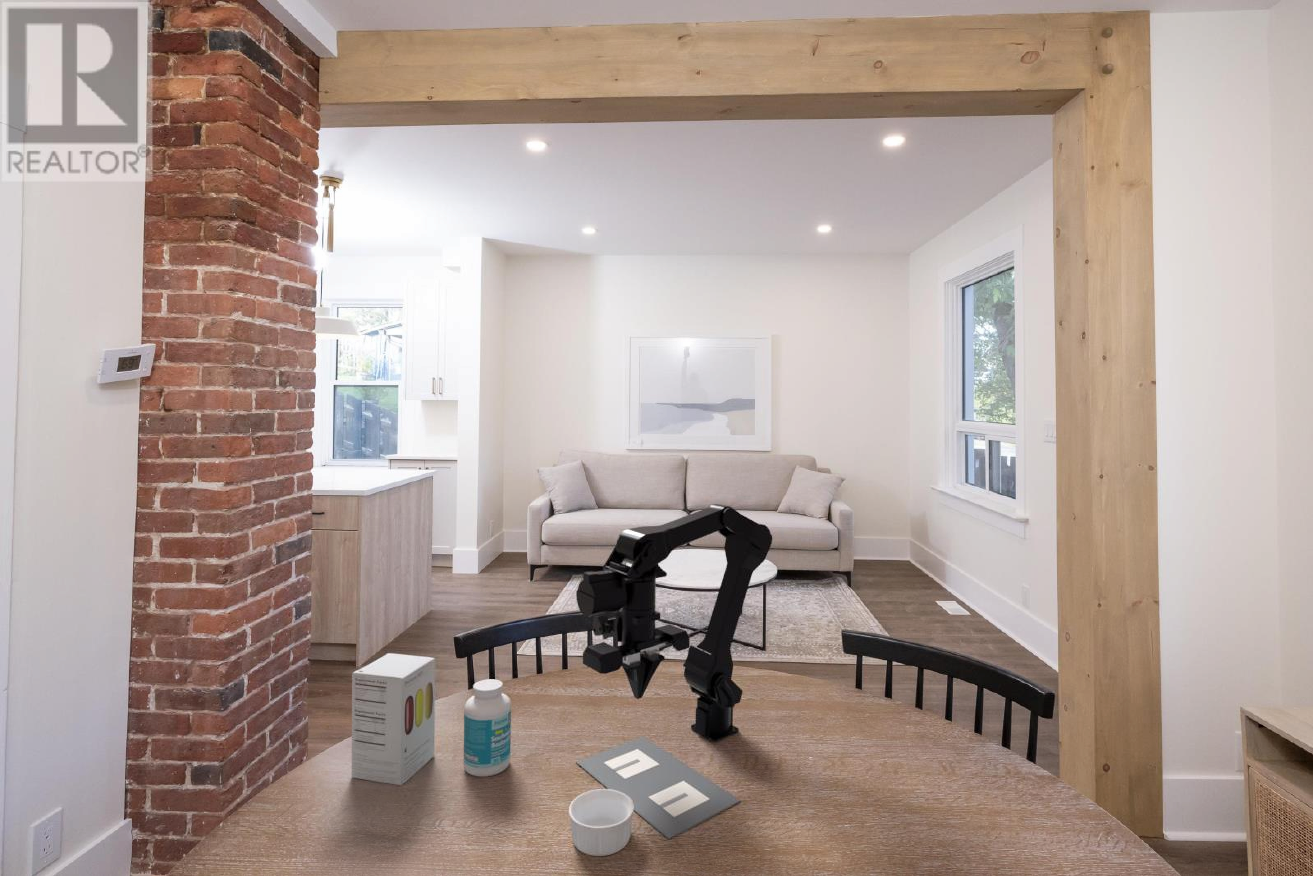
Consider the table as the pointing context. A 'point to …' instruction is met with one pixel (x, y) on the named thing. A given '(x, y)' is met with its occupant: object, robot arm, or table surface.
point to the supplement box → (393, 718)
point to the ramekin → (601, 821)
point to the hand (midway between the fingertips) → (637, 697)
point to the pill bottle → (487, 729)
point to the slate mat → (659, 785)
